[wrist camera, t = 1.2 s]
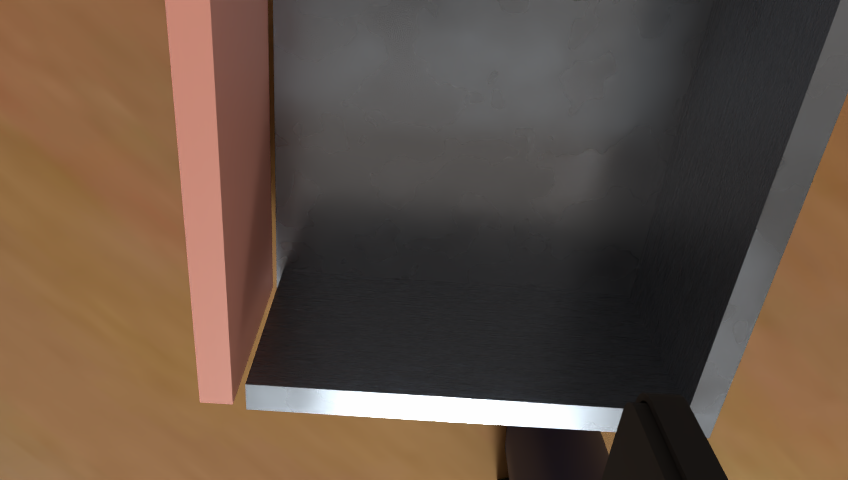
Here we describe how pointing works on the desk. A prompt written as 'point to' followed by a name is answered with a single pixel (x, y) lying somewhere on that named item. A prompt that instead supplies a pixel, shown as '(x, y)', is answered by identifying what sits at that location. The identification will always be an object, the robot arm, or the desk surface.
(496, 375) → the box
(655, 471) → the robot arm
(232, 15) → the tailgate
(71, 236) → the desk surface
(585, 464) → the speaker
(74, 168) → the desk surface
